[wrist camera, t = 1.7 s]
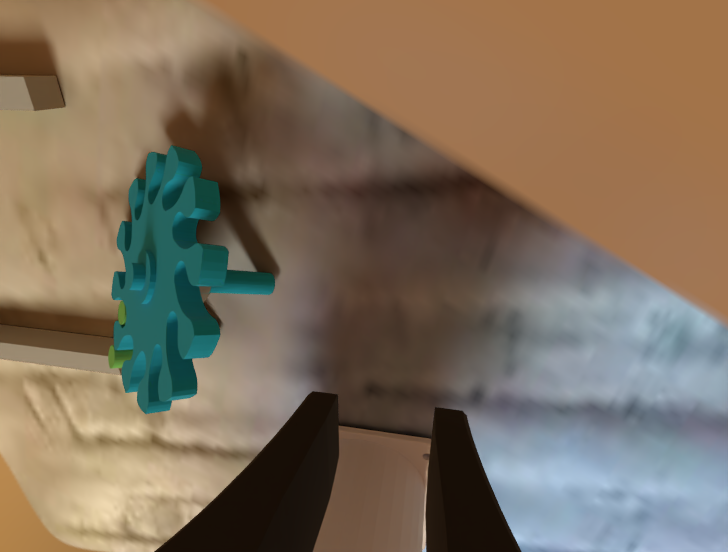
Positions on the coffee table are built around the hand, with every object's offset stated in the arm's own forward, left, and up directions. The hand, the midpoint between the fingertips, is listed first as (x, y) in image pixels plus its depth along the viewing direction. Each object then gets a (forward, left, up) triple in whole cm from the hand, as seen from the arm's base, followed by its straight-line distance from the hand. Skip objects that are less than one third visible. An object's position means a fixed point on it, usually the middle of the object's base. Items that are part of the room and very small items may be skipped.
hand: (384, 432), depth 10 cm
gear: (0, +10, -10) cm, 14 cm away
